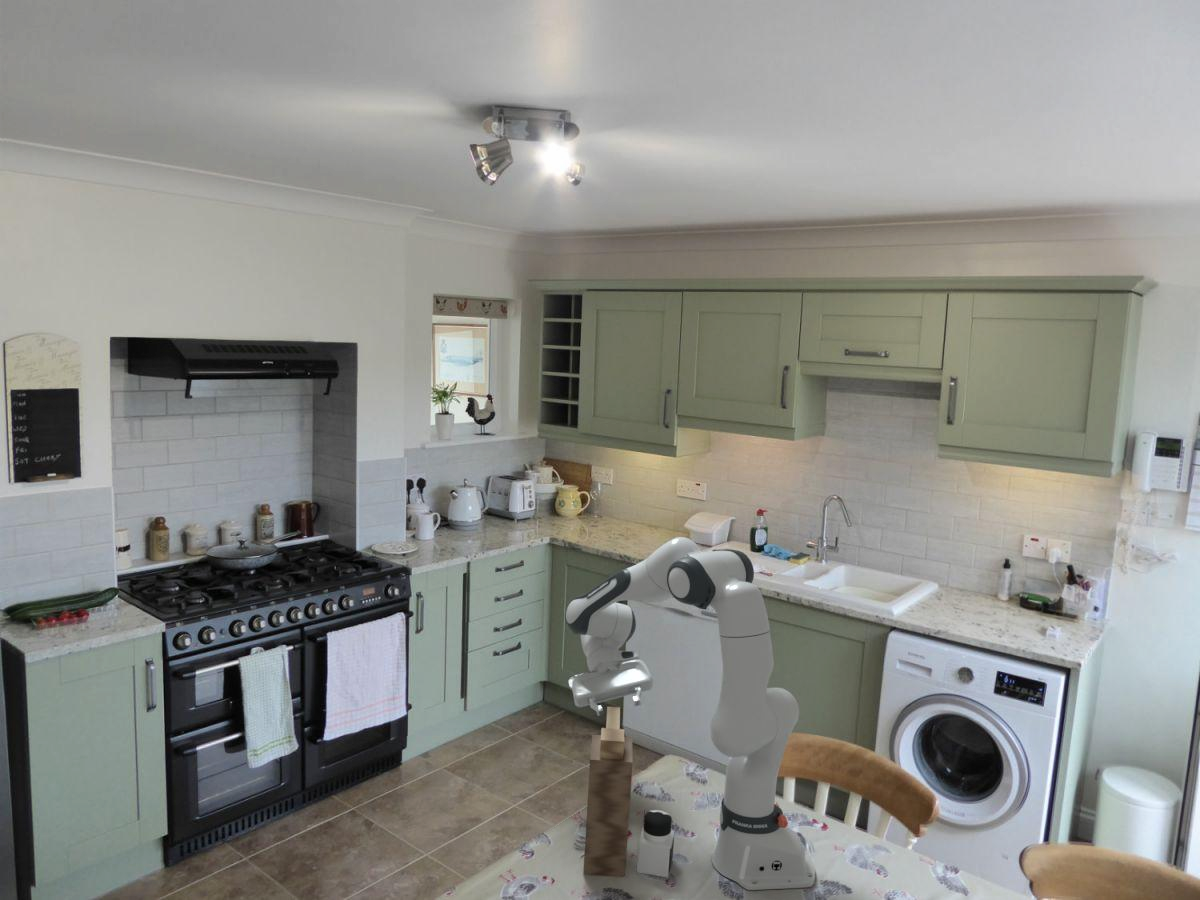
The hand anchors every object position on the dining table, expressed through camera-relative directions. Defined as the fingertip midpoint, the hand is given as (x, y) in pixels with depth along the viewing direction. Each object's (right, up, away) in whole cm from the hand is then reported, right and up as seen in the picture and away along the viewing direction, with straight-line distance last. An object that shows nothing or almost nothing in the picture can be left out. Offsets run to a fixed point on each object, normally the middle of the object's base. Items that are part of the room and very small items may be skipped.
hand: (619, 708), depth 212 cm
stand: (-4, -28, -19) cm, 34 cm away
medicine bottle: (+7, -29, -20) cm, 36 cm away
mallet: (-2, -2, -18) cm, 18 cm away
